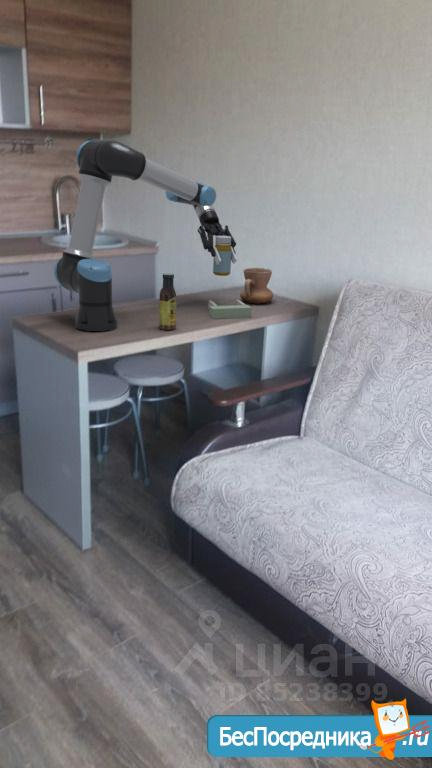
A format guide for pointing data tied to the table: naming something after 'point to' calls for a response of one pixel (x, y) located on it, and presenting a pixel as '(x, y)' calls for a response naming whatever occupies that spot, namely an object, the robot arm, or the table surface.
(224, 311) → the green-backed grey tray
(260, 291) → the ceramic jug
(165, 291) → the sauce bottle
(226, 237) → the bottle
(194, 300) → the table surface
